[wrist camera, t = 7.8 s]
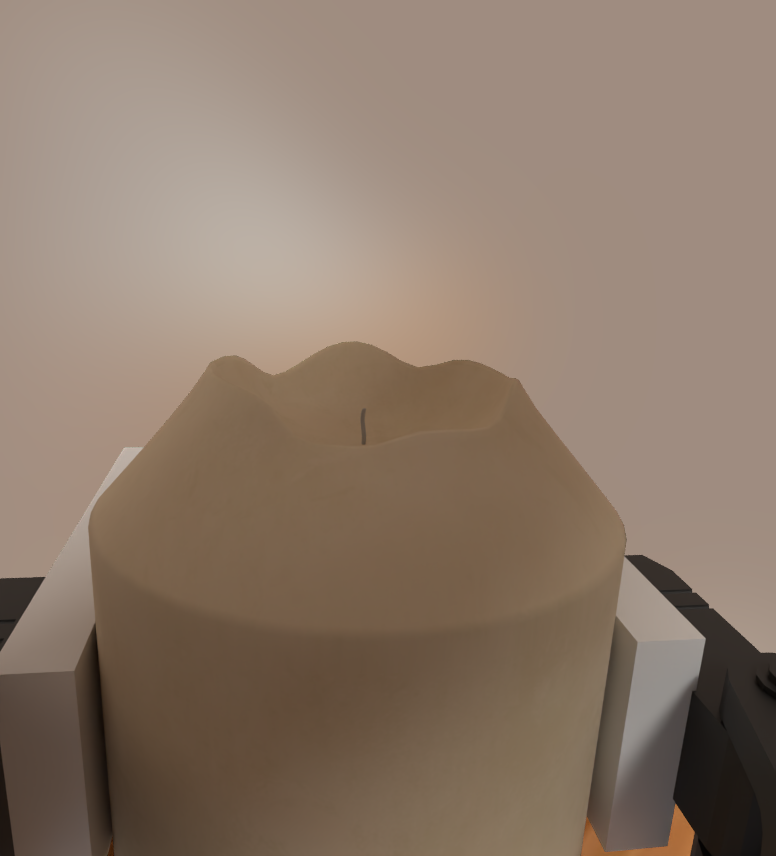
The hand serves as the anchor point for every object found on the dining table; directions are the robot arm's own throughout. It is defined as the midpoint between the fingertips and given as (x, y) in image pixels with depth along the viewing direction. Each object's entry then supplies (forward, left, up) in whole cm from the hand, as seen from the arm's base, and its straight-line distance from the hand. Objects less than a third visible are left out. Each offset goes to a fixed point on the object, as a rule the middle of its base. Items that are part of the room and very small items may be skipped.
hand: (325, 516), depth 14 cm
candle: (+1, +5, -6) cm, 8 cm away
